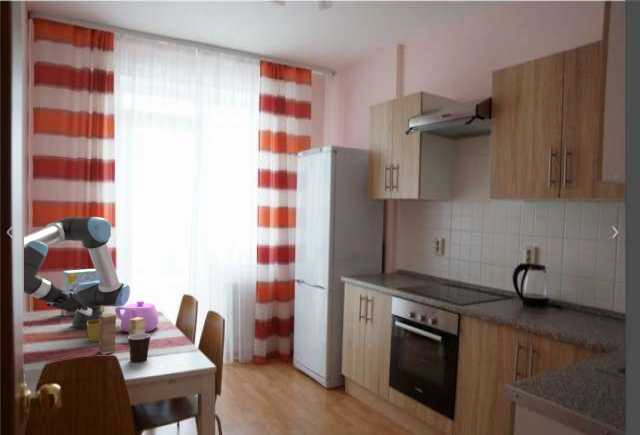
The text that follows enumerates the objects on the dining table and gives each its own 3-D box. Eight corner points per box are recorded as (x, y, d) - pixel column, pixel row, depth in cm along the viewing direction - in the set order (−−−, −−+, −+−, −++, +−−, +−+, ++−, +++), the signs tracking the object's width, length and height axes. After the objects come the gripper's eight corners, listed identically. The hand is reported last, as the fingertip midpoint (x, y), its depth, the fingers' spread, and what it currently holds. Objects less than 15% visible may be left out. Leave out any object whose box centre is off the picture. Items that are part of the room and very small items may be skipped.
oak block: (128, 339, 204) (129, 319, 204) (137, 337, 208) (137, 317, 208) (136, 341, 202) (136, 320, 201) (144, 338, 206) (145, 318, 206)
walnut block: (98, 351, 187) (99, 315, 186) (110, 348, 190) (111, 313, 190) (103, 354, 183) (104, 317, 183) (115, 351, 187) (115, 315, 187)
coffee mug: (131, 356, 181) (132, 333, 181) (152, 356, 182) (153, 333, 182) (121, 366, 170) (121, 341, 170) (143, 366, 170) (144, 341, 170)
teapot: (119, 326, 227) (120, 298, 227) (160, 325, 230) (161, 297, 230) (105, 338, 205) (105, 307, 204) (150, 337, 208) (151, 307, 208)
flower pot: (86, 344, 196) (86, 324, 196) (87, 338, 204) (87, 320, 204) (107, 341, 200) (108, 322, 200) (107, 336, 208) (107, 318, 208)
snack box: (66, 317, 240) (67, 272, 240) (60, 315, 246) (61, 270, 246) (105, 311, 257) (106, 269, 257) (98, 309, 263) (99, 267, 262)
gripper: (28, 304, 167) (77, 325, 184) (55, 292, 164) (101, 315, 182) (33, 288, 171) (79, 310, 189) (59, 276, 169) (103, 300, 187)
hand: (90, 312), depth 186 cm, fingers closed
